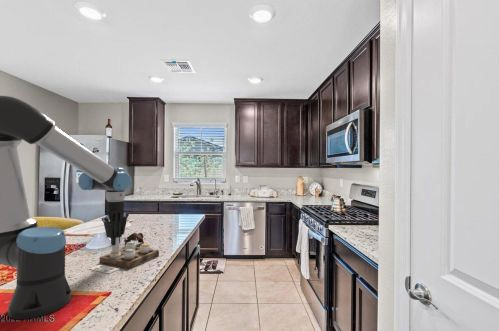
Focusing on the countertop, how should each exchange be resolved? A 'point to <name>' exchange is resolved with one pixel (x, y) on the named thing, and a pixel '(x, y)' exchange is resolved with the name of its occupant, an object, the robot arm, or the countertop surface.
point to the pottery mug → (134, 237)
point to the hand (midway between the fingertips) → (115, 251)
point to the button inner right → (129, 254)
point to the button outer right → (145, 248)
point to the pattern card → (104, 269)
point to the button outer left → (131, 245)
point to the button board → (132, 262)
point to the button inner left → (115, 254)
